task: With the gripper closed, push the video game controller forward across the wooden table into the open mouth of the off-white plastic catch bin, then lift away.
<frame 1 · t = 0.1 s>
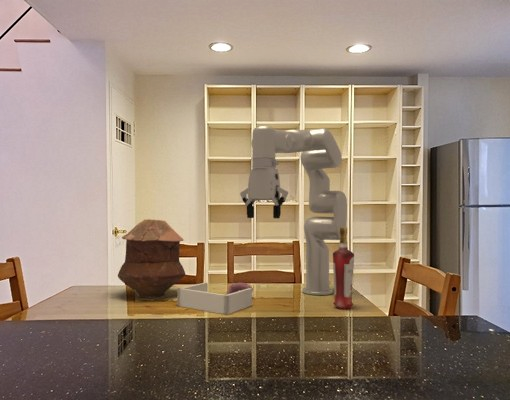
hand: (263, 218, 126), 31 cm above the table, fingers open, 9 cm apart
red glass bottle: (343, 308, 136), on the table
pottery vessel: (151, 295, 155), on the table
catch bin: (215, 305, 138), on the table
video game controller: (239, 298, 151), on the table
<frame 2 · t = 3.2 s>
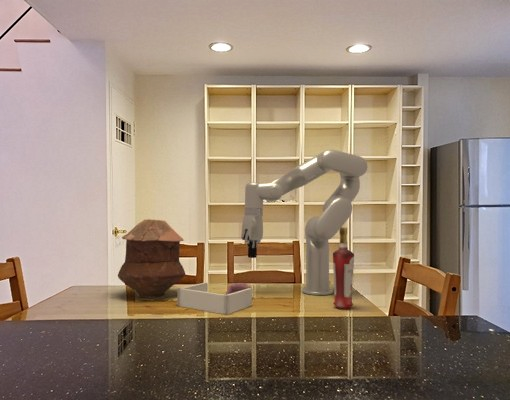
hand: (252, 257, 160), 15 cm above the table, fingers closed
nothing on the table moved.
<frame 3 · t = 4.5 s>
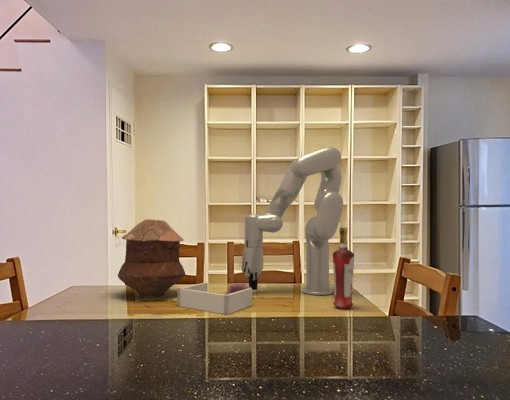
hand: (253, 289, 159), 2 cm above the table, fingers closed
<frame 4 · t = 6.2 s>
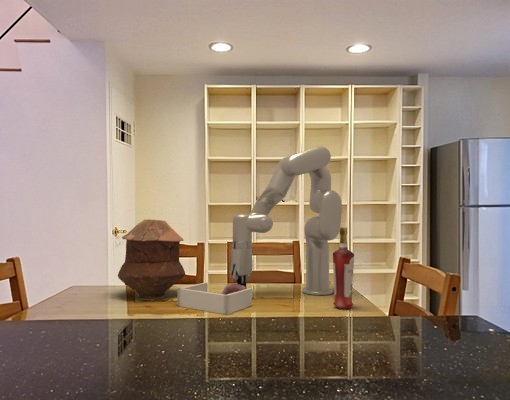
hand: (241, 292, 152), 2 cm above the table, fingers closed
video game controller: (234, 300, 147), on the table, touching gripper
everything else where it was.
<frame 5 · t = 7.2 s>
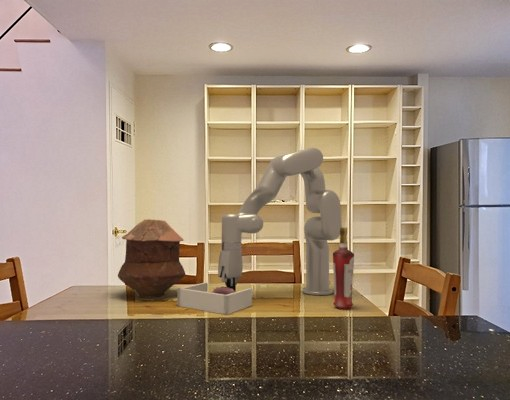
hand: (230, 296, 146), 2 cm above the table, fingers closed
video game controller: (222, 304, 141), resting in catch bin, touching gripper
everything else where it was.
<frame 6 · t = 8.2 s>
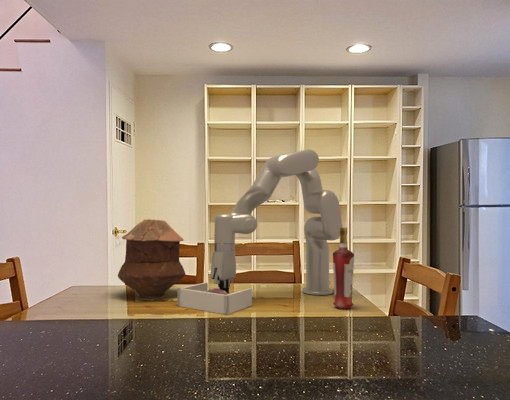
hand: (224, 298, 142), 2 cm above the table, fingers closed
video game controller: (214, 306, 138), resting in catch bin, touching gripper
everything else where it was.
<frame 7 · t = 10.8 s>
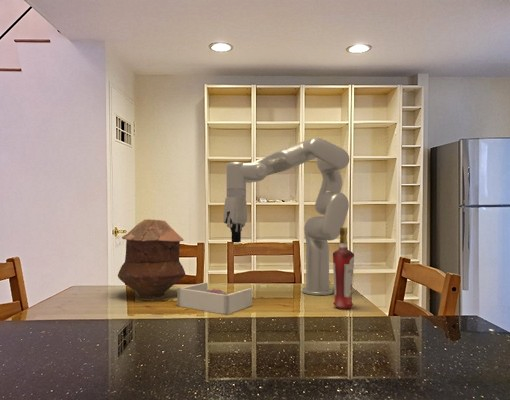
hand: (236, 242, 149), 22 cm above the table, fingers closed
video game controller: (213, 307, 137), resting in catch bin
everything else where it was.
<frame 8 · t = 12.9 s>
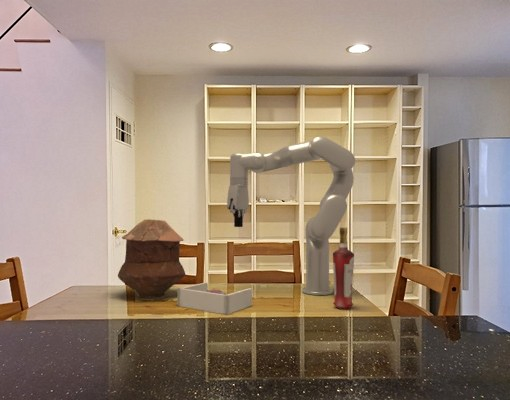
hand: (238, 226, 163), 27 cm above the table, fingers closed
nothing on the table moved.
at the end: video game controller inside the target area on the catch bin (1.1 cm from its centre), point 0.0 cm above the catch bin's base; video game controller moved 16.8 cm from its start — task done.
